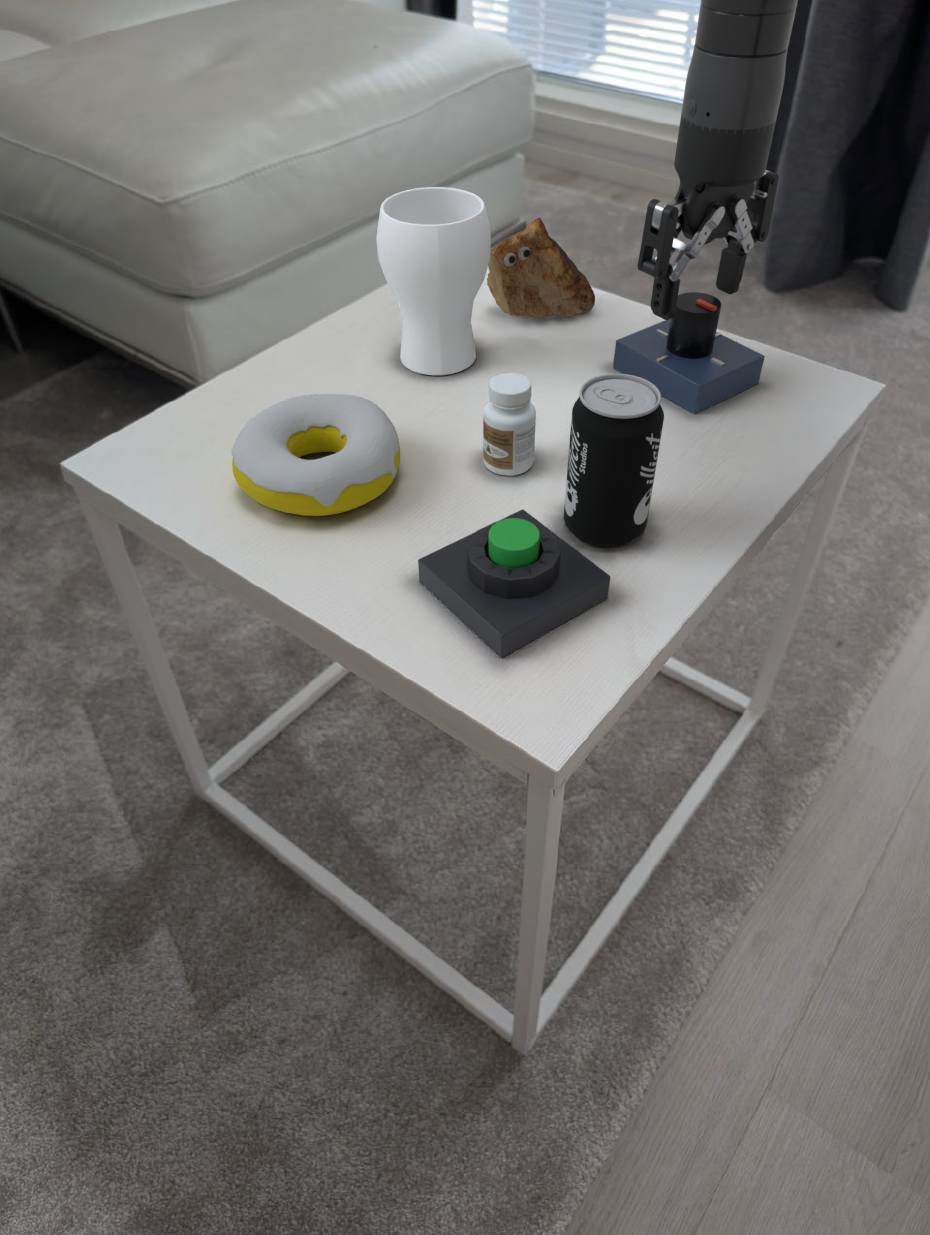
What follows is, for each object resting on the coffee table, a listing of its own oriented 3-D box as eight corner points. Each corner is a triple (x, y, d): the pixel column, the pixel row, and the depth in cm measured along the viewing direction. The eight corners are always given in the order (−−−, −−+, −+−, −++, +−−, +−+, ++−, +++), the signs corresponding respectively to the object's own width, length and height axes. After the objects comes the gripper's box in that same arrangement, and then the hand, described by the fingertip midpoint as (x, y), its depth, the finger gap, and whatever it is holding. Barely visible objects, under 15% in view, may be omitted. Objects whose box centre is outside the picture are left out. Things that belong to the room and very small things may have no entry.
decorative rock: (492, 333, 96) (493, 230, 89) (477, 308, 100) (477, 208, 93) (599, 318, 98) (608, 216, 91) (580, 294, 102) (587, 195, 95)
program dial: (656, 345, 88) (663, 297, 84) (688, 332, 89) (696, 284, 86) (690, 363, 85) (699, 314, 82) (722, 349, 87) (732, 301, 84)
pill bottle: (472, 461, 79) (472, 381, 74) (510, 442, 81) (512, 364, 76) (506, 483, 77) (508, 403, 72) (544, 464, 79) (548, 384, 74)
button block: (522, 530, 72) (523, 489, 70) (608, 598, 67) (613, 557, 64) (418, 581, 68) (416, 540, 65) (501, 658, 62) (502, 617, 60)
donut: (327, 416, 85) (320, 367, 81) (436, 470, 78) (434, 420, 75) (207, 484, 77) (194, 434, 74) (317, 551, 71) (308, 499, 67)
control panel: (612, 367, 91) (615, 338, 89) (675, 341, 94) (680, 312, 92) (694, 414, 84) (699, 384, 82) (758, 383, 88) (765, 354, 86)
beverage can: (618, 564, 69) (638, 429, 61) (547, 532, 72) (555, 398, 64) (660, 521, 73) (683, 388, 65) (590, 492, 76) (604, 361, 68)
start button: (517, 530, 67) (518, 511, 66) (549, 555, 65) (550, 536, 63) (478, 549, 65) (478, 530, 64) (509, 576, 63) (510, 557, 62)
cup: (496, 335, 96) (497, 186, 85) (482, 387, 88) (483, 231, 78) (397, 329, 97) (387, 182, 87) (376, 380, 90) (362, 225, 79)
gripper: (703, 140, 68) (670, 341, 79) (824, 105, 74) (777, 296, 85) (632, 116, 72) (611, 310, 83) (752, 84, 78) (717, 269, 89)
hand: (695, 303), depth 84 cm, fingers open, 8 cm apart
